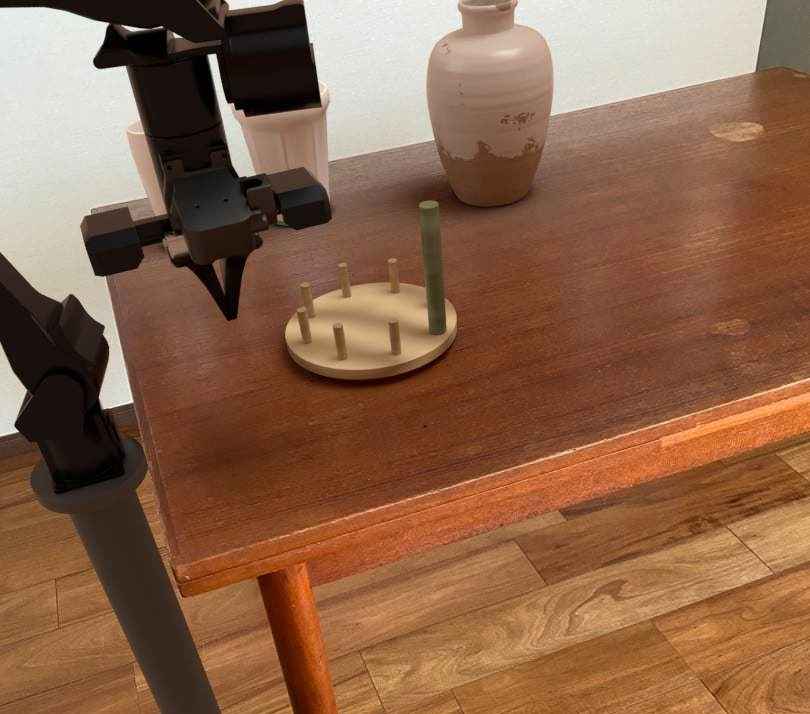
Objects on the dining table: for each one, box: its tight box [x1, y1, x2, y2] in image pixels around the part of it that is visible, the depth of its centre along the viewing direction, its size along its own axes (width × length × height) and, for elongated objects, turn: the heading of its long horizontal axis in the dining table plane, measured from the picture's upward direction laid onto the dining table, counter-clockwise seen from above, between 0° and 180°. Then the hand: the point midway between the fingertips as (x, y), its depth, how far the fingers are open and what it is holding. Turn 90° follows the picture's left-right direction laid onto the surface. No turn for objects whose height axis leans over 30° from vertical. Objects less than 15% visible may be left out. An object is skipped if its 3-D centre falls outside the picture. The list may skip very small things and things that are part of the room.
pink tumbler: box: [125, 118, 167, 217], centre depth 111 cm, size 7×7×15 cm
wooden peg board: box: [284, 200, 458, 381], centre depth 88 cm, size 18×18×14 cm
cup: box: [229, 79, 331, 227], centre depth 115 cm, size 12×12×15 cm
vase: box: [425, 0, 555, 207], centre depth 112 cm, size 16×16×23 cm
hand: (231, 318), depth 75 cm, fingers closed
